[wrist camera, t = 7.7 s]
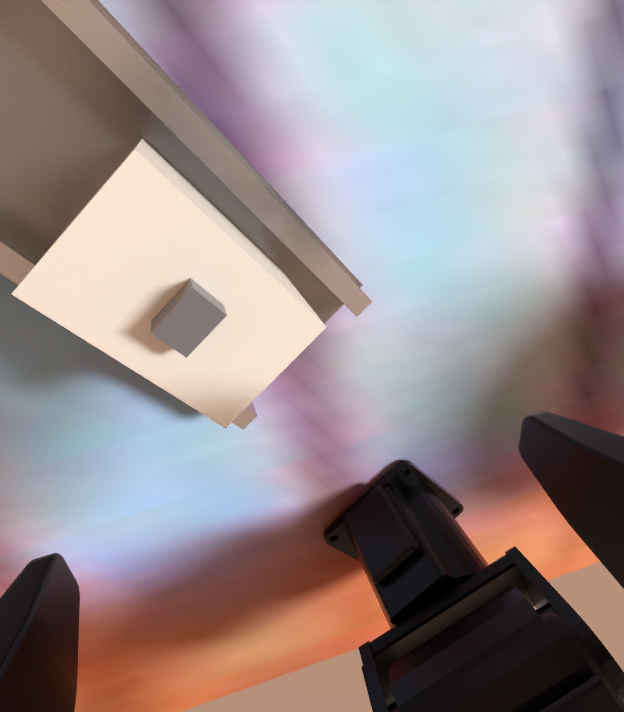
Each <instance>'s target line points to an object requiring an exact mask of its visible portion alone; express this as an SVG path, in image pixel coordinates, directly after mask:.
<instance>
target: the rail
mask: <svg viewBox="0 0 624 712" xmlns="http://www.w3.org/2000/svg"><path fill="white" fill-rule="evenodd" d="M142 138H144V139H145V140H146V141H147V142H148V143H149V144H150V145H151V146H152V147H153V148H154V149H155V150H156V151H157V152H158V153H159V154H160V155H161V156H162V157H164V158H165V159H166V160H167V161H168V162H169V163H170V164H171V165H172V166H173V167H174V168H175V169H176V170H177V171H178V172H179V173H180V174H181V175H182V176H183V177H185V178H186V179H187V180H188V181H189V182H190V183H191V184H192V185H193V186H194V187H195V188H196V189H197V190H198V191H199V192H200V193H201V194H202V195H203V196H204V197H206V198H207V199H208V200H209V201H210V202H211V203H212V204H213V205H214V206H215V207H216V208H217V209H218V210H219V211H220V212H221V213H222V214H223V215H224V216H225V217H227V218H228V219H229V220H230V221H231V222H232V223H233V224H234V225H235V226H236V227H237V228H238V229H239V230H240V231H241V232H242V233H243V234H244V235H245V236H247V237H248V238H249V239H250V240H251V241H252V242H253V243H254V244H255V245H256V246H257V247H258V248H259V249H260V250H261V251H262V252H263V253H264V254H265V255H266V256H268V257H269V258H270V259H271V260H272V261H273V262H274V263H275V264H276V265H277V266H278V267H279V268H280V269H281V270H282V272H283V273H284V274H285V275H286V277H287V278H288V279H289V280H290V282H291V283H292V284H293V285H294V287H295V288H296V289H297V290H298V292H299V293H300V294H301V296H302V297H303V298H304V299H305V301H306V302H307V303H308V304H309V306H310V307H311V308H312V309H313V311H314V312H315V313H316V314H317V316H318V317H319V318H320V319H321V321H322V322H323V323H325V322H326V321H327V320H328V319H329V318H330V317H331V316H332V315H333V314H334V313H335V312H336V311H337V310H338V309H339V308H340V307H341V306H342V305H343V304H345V305H346V306H347V307H348V308H349V309H350V310H351V311H352V312H353V313H354V314H355V315H356V316H358V315H359V314H360V313H361V312H362V311H363V310H364V309H365V308H366V307H367V306H368V305H369V304H370V303H371V302H372V301H371V300H370V299H369V298H368V297H367V296H366V295H365V293H364V292H363V291H362V290H361V289H360V287H361V286H362V284H361V283H360V282H359V280H358V279H357V278H356V277H355V276H354V275H353V274H352V273H351V272H350V271H349V270H348V269H347V268H346V266H345V265H344V264H343V263H342V262H341V261H340V260H339V259H338V258H337V257H336V256H335V255H334V254H333V253H332V251H331V250H330V249H329V248H328V247H327V246H326V245H325V244H324V243H323V242H322V241H321V240H320V239H319V237H318V236H317V235H316V234H315V233H314V232H313V231H312V230H311V229H310V228H309V227H308V226H307V225H306V223H305V222H304V221H303V220H302V219H301V218H300V217H299V216H298V215H297V214H296V213H295V212H294V211H293V209H292V208H291V207H290V206H289V205H288V204H287V203H286V202H285V201H284V200H283V199H282V198H281V197H280V196H279V194H278V193H277V192H276V191H275V190H274V189H273V188H272V187H271V186H270V185H269V184H268V183H267V182H266V180H265V179H264V178H263V177H262V176H261V175H260V174H259V173H258V172H257V171H256V170H255V169H254V168H253V166H252V165H251V164H250V163H249V162H248V161H247V160H246V159H245V158H244V157H243V156H242V155H241V154H240V152H239V151H238V150H237V149H236V148H235V147H234V146H233V145H232V144H231V143H230V142H229V141H228V140H227V138H226V137H225V136H224V135H223V134H222V133H221V132H220V131H219V130H218V129H217V128H216V127H215V126H214V125H213V123H212V122H211V121H210V120H209V119H208V118H207V117H206V116H205V115H204V114H203V113H202V112H201V111H200V109H199V108H198V107H197V106H196V105H195V104H194V103H193V102H192V101H191V100H190V99H189V98H188V97H187V95H186V94H185V93H184V92H183V91H182V90H181V89H180V88H179V87H178V86H177V85H176V84H175V83H174V81H173V80H172V79H171V78H170V77H169V76H168V75H167V74H166V73H165V72H164V71H163V70H162V69H161V67H160V66H159V65H158V64H157V63H156V62H155V61H154V60H153V59H152V58H151V57H150V56H149V55H148V54H147V52H146V51H145V50H144V49H143V48H142V47H141V46H140V45H139V44H138V43H137V42H136V41H135V40H134V38H133V37H132V36H131V35H130V34H129V33H128V32H127V31H126V30H125V29H124V28H123V27H122V26H121V24H120V23H119V22H118V21H117V20H116V19H115V18H114V17H113V16H112V15H111V14H110V13H109V12H108V10H107V9H106V8H105V7H104V6H103V5H102V4H101V3H100V2H99V1H98V0H0V274H2V275H3V276H5V277H6V278H8V279H9V280H11V281H13V282H14V283H16V284H17V285H19V284H20V283H21V282H22V281H23V279H24V278H25V277H26V276H27V274H28V273H29V272H30V271H31V270H32V268H33V267H34V266H35V265H36V264H37V262H38V261H39V260H40V259H41V258H42V256H43V255H44V254H45V253H46V252H47V250H48V249H49V248H50V247H51V246H52V244H53V243H54V242H55V241H56V240H57V238H58V237H59V236H60V235H61V234H62V232H63V231H64V230H65V229H66V228H67V226H68V225H69V224H70V223H71V222H72V221H73V219H74V218H75V217H76V216H77V215H78V214H79V212H80V211H81V210H82V209H83V208H84V207H85V205H86V204H87V203H88V202H89V201H90V199H91V198H92V197H93V196H94V195H95V194H96V192H97V191H98V190H99V189H100V188H101V187H102V185H103V184H104V183H105V182H106V181H107V179H108V178H109V177H110V176H111V175H112V174H113V172H114V171H115V170H116V169H117V168H118V167H119V165H120V164H121V163H122V162H123V161H124V160H125V158H126V157H127V156H128V155H129V154H130V152H131V151H132V150H133V149H134V148H135V147H136V145H137V144H138V143H139V142H140V141H141V140H142ZM256 416H257V414H256V411H255V408H254V405H253V402H251V403H250V404H249V405H248V406H247V407H246V408H245V409H244V410H243V411H242V412H241V413H240V414H239V415H238V416H237V417H236V418H235V419H234V420H233V421H232V423H234V424H235V425H237V426H238V427H240V428H241V429H244V428H245V427H246V426H247V425H248V424H249V423H250V422H251V421H252V420H253V419H254V418H255V417H256Z"/></svg>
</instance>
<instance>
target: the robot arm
mask: <svg viewBox="0 0 624 712" xmlns="http://www.w3.org/2000/svg"><path fill="white" fill-rule="evenodd" d="M519 452H520V455H521V457H522V458H523V460H524V461H525V463H526V464H527V466H528V467H529V469H530V470H531V471H532V473H533V474H534V476H535V477H536V479H537V480H538V481H539V483H540V484H541V486H542V487H543V489H544V490H545V492H546V493H547V494H548V496H549V497H550V499H551V500H552V502H553V503H554V504H555V506H556V507H557V509H558V510H559V511H560V513H561V514H562V515H563V517H564V518H565V520H566V521H567V522H568V523H569V524H570V526H571V527H572V528H573V529H574V531H575V532H576V533H577V534H578V535H579V537H580V538H581V539H582V540H583V541H584V542H585V544H586V545H587V546H588V547H589V548H590V550H591V551H592V552H593V553H594V554H595V555H596V557H597V558H598V559H599V560H600V561H601V562H602V564H603V565H604V566H605V567H606V568H607V569H608V571H609V572H610V573H611V574H612V575H613V577H614V578H615V579H616V580H617V581H618V582H619V584H620V585H621V586H622V587H623V588H624V436H621V435H617V434H614V433H611V432H608V431H605V430H602V429H599V428H596V427H593V426H589V425H586V424H583V423H580V422H577V421H574V420H571V419H568V418H564V417H561V416H558V415H555V414H552V413H549V412H545V411H541V412H537V413H533V414H530V415H527V416H525V417H524V419H523V421H522V427H521V433H520V439H519ZM462 511H463V506H462V504H461V503H460V502H459V501H458V500H457V499H456V498H455V497H453V496H452V495H451V494H450V493H448V492H447V491H446V490H445V489H443V488H442V487H441V486H440V485H438V484H437V483H436V482H435V481H434V480H432V479H431V478H430V477H429V476H427V475H426V474H425V473H424V472H422V471H421V470H420V469H419V468H417V467H416V466H415V465H414V464H412V463H411V462H410V461H408V460H404V461H401V462H400V463H398V464H397V465H396V466H395V467H394V468H393V469H392V470H391V471H390V472H388V473H387V474H386V475H385V476H384V477H383V478H382V479H381V480H380V481H379V482H378V483H376V484H375V485H374V486H373V487H372V488H371V489H370V490H369V491H368V492H367V493H366V494H364V495H363V496H362V497H361V498H360V499H359V500H358V501H357V502H356V503H355V504H354V505H352V506H351V507H350V508H349V509H348V510H347V511H346V512H345V513H344V514H343V515H341V516H340V517H339V518H338V519H337V520H336V521H335V522H334V523H333V524H332V525H331V526H329V527H328V528H327V529H326V530H325V532H324V534H323V535H324V538H325V541H326V543H327V544H329V545H330V546H332V547H334V548H336V549H338V550H340V551H342V552H344V553H345V554H347V555H349V556H351V557H353V558H355V559H357V560H359V561H360V562H361V564H362V566H363V568H364V571H365V573H366V575H367V577H368V579H369V582H370V584H371V586H372V588H373V591H374V593H375V595H376V597H377V599H378V602H379V604H380V606H381V608H382V610H383V613H384V615H385V617H386V619H387V622H388V624H389V626H390V628H391V629H390V630H389V631H387V632H385V633H384V634H382V635H381V636H379V637H378V638H376V639H375V640H373V641H372V642H370V641H368V642H366V643H364V644H363V645H361V646H360V647H359V651H360V654H361V659H362V662H363V666H362V671H363V675H364V679H365V683H366V687H367V691H368V694H369V699H370V702H371V706H372V710H373V712H624V672H623V671H622V669H621V668H620V667H619V665H618V664H617V662H616V661H615V660H614V658H613V657H612V656H611V654H610V653H609V652H608V650H607V649H606V648H605V646H604V645H603V644H602V642H601V641H600V640H599V639H598V637H597V636H596V635H595V634H594V632H593V631H592V630H591V629H590V628H589V626H588V625H587V624H586V623H585V622H584V621H583V619H582V618H581V617H580V616H579V615H578V614H577V613H576V612H575V610H574V609H573V608H572V607H571V606H570V605H569V604H568V603H567V602H566V601H565V600H564V599H563V598H562V596H561V595H560V594H559V593H558V592H557V591H556V590H555V589H554V588H553V587H552V586H551V585H550V583H548V581H547V580H546V579H545V578H544V577H543V576H542V575H541V574H540V573H539V572H538V571H537V569H536V568H535V567H534V566H533V565H532V564H531V563H530V562H529V561H528V560H527V559H526V558H525V557H524V555H523V554H522V553H521V552H520V551H519V550H518V549H517V548H516V547H515V546H514V547H513V548H511V549H509V550H508V551H506V552H505V553H506V555H504V556H503V557H501V558H500V559H498V560H497V561H495V562H493V563H492V564H490V565H489V564H488V563H487V562H486V560H485V559H484V558H483V556H482V555H481V554H480V552H479V551H478V550H477V548H476V547H475V545H474V544H473V543H472V541H471V540H470V539H469V537H468V536H467V535H466V533H465V532H464V530H463V529H462V528H461V526H460V525H459V524H458V522H457V521H456V520H455V518H456V517H457V516H458V515H459V514H460V513H461V512H462ZM79 605H80V593H79V586H78V583H77V581H76V579H75V577H74V576H73V574H72V572H71V570H70V569H69V567H68V565H67V563H66V562H65V560H64V558H63V557H62V556H61V555H60V554H58V553H53V554H50V555H46V556H43V557H40V558H36V559H34V560H32V561H31V562H29V563H28V564H27V566H26V567H25V568H24V569H23V570H22V572H21V573H20V574H19V575H18V577H17V578H16V579H15V580H14V582H13V583H12V584H11V585H10V587H9V588H8V589H7V590H6V592H5V593H4V594H3V595H2V597H1V598H0V712H74V711H75V702H76V693H77V674H78V639H79ZM534 606H535V607H536V609H537V610H535V609H534V608H533V607H534Z"/></svg>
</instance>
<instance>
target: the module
mask: <svg viewBox="0 0 624 712" xmlns="http://www.w3.org/2000/svg"><path fill="white" fill-rule="evenodd" d="M12 295H13V296H15V297H17V298H18V299H20V300H21V301H23V302H25V303H26V304H28V305H29V306H31V307H33V308H34V309H36V310H37V311H39V312H40V313H42V314H44V315H45V316H47V317H48V318H50V319H52V320H53V321H55V322H56V323H58V324H60V325H61V326H63V327H64V328H66V329H68V330H69V331H71V332H72V333H74V334H76V335H77V336H79V337H80V338H82V339H84V340H85V341H87V342H88V343H90V344H92V345H93V346H95V347H96V348H98V349H100V350H101V351H103V352H104V353H106V354H108V355H109V356H111V357H112V358H114V359H116V360H117V361H119V362H120V363H122V364H124V365H125V366H127V367H128V368H130V369H132V370H133V371H135V372H136V373H138V374H140V375H141V376H143V377H144V378H146V379H148V380H149V381H151V382H152V383H154V384H156V385H157V386H159V387H160V388H162V389H164V390H165V391H167V392H168V393H170V394H172V395H173V396H175V397H176V398H178V399H180V400H181V401H183V402H184V403H186V404H188V405H189V406H191V407H192V408H194V409H196V410H197V411H199V412H200V413H202V414H204V415H205V416H207V417H208V418H210V419H212V420H213V421H215V422H216V423H218V424H220V425H221V426H223V427H224V428H226V427H227V426H228V425H229V424H230V423H231V422H232V421H233V420H234V419H235V418H236V417H237V416H238V415H239V414H240V413H241V412H242V411H243V410H244V409H245V408H246V407H247V406H248V405H249V404H250V403H251V402H252V401H253V400H254V399H255V398H256V397H257V396H258V395H259V394H260V393H261V392H262V391H263V390H264V389H265V388H266V387H267V386H268V385H269V384H270V383H271V382H272V381H273V380H274V379H275V378H276V377H277V376H278V375H279V374H280V373H281V372H282V371H283V370H284V369H285V368H286V367H287V366H288V365H289V364H290V363H291V362H292V361H293V360H294V359H295V358H296V357H297V356H298V355H299V354H300V353H301V352H302V351H303V350H304V349H305V348H306V347H307V346H308V345H309V344H310V343H311V342H312V341H313V340H314V339H315V338H316V337H317V336H318V335H319V334H320V333H321V332H322V331H323V330H324V329H325V328H326V326H325V324H324V323H323V322H322V321H321V319H320V318H319V317H318V316H317V314H316V313H315V312H314V311H313V309H312V308H311V307H310V306H309V304H308V303H307V302H306V301H305V299H304V298H303V297H302V296H301V294H300V293H299V292H298V290H297V289H296V288H295V287H294V285H293V284H292V283H291V282H290V280H289V279H288V278H287V277H286V275H285V274H284V273H283V272H282V270H281V269H280V268H279V267H278V266H277V265H276V264H275V263H274V262H273V261H272V260H271V259H270V258H269V257H268V256H266V255H265V254H264V253H263V252H262V251H261V250H260V249H259V248H258V247H257V246H256V245H255V244H254V243H253V242H252V241H251V240H250V239H249V238H248V237H247V236H245V235H244V234H243V233H242V232H241V231H240V230H239V229H238V228H237V227H236V226H235V225H234V224H233V223H232V222H231V221H230V220H229V219H228V218H227V217H225V216H224V215H223V214H222V213H221V212H220V211H219V210H218V209H217V208H216V207H215V206H214V205H213V204H212V203H211V202H210V201H209V200H208V199H207V198H206V197H204V196H203V195H202V194H201V193H200V192H199V191H198V190H197V189H196V188H195V187H194V186H193V185H192V184H191V183H190V182H189V181H188V180H187V179H186V178H185V177H183V176H182V175H181V174H180V173H179V172H178V171H177V170H176V169H175V168H174V167H173V166H172V165H171V164H170V163H169V162H168V161H167V160H166V159H165V158H164V157H162V156H161V155H160V154H159V153H158V152H157V151H156V150H155V149H154V148H153V147H152V146H151V145H150V144H149V143H148V142H147V141H146V140H145V139H144V138H142V140H141V141H140V142H139V143H138V144H137V145H136V147H135V148H134V149H133V150H132V151H131V152H130V154H129V155H128V156H127V157H126V158H125V160H124V161H123V162H122V163H121V164H120V165H119V167H118V168H117V169H116V170H115V171H114V172H113V174H112V175H111V176H110V177H109V178H108V179H107V181H106V182H105V183H104V184H103V185H102V187H101V188H100V189H99V190H98V191H97V192H96V194H95V195H94V196H93V197H92V198H91V199H90V201H89V202H88V203H87V204H86V205H85V207H84V208H83V209H82V210H81V211H80V212H79V214H78V215H77V216H76V217H75V218H74V219H73V221H72V222H71V223H70V224H69V225H68V226H67V228H66V229H65V230H64V231H63V232H62V234H61V235H60V236H59V237H58V238H57V240H56V241H55V242H54V243H53V244H52V246H51V247H50V248H49V249H48V250H47V252H46V253H45V254H44V255H43V256H42V258H41V259H40V260H39V261H38V262H37V264H36V265H35V266H34V267H33V268H32V270H31V271H30V272H29V273H28V274H27V276H26V277H25V278H24V279H23V281H22V282H21V283H20V284H19V285H18V287H17V288H16V289H15V290H14V291H13V293H12Z"/></svg>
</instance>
